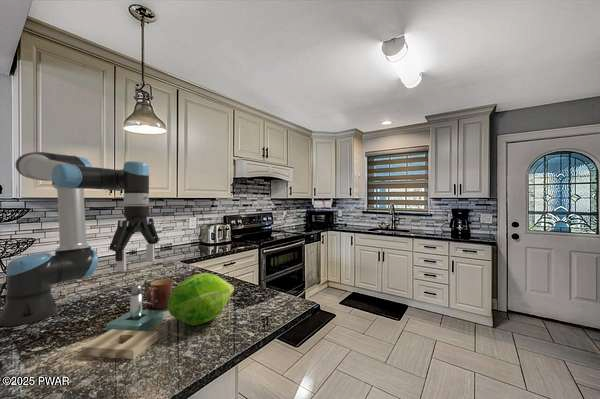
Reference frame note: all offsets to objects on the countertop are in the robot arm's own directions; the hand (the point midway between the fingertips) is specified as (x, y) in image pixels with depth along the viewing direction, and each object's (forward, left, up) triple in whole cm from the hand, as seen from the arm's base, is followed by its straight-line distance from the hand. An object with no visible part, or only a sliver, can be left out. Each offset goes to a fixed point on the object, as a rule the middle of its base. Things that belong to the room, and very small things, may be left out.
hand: (136, 265), depth 90 cm
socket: (0, 0, -21) cm, 21 cm away
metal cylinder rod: (0, 0, -21) cm, 21 cm away
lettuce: (+22, +6, -21) cm, 31 cm away
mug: (-2, +15, -21) cm, 26 cm away
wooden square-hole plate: (+6, -13, -21) cm, 25 cm away
